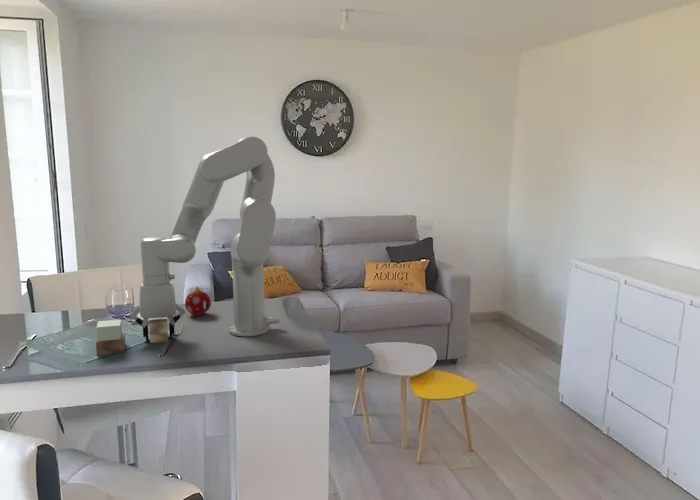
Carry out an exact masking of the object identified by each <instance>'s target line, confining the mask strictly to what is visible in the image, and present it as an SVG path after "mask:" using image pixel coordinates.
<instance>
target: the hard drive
mask: <svg viewBox="0 0 700 500" xmlns="http://www.w3.org/2000/svg"><path fill="white" fill-rule="evenodd" d="M137 316H138V317H139V318H141V319H142V320H143V318H142V317H141V316H140V312H139V313H138V314H137ZM159 318H163V317H159ZM150 319H152V318H149V319H148V322H147V325H149V320H150ZM131 325H139V324H138V323H137V322H136V321H135V320H133V319H132V321H131Z"/></svg>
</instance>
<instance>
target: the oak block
mask: <svg viewBox="0 0 700 500" xmlns="http://www.w3.org/2000/svg"><path fill="white" fill-rule="evenodd" d="M168 326H169V324H168V317H162V318H152V319H150V320H149V324H148V327H149V342H150V343H151V344H155V343H163V342H164V343H165V342H169V330H168V329H169V327H168Z"/></svg>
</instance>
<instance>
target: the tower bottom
mask: <svg viewBox="0 0 700 500" xmlns="http://www.w3.org/2000/svg"><path fill="white" fill-rule="evenodd" d="M125 333H126V332H125V331H122V335H121V339H118V340H107V341H97V339H96V340H95V346H96V347H95V348H96V349H95V350H96V356H100V355H101V356H102V355H109V354H110V355H112V354H120V353H121V354H122V353H125V348H126V334H125Z"/></svg>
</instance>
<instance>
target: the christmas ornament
mask: <svg viewBox="0 0 700 500" xmlns="http://www.w3.org/2000/svg"><path fill="white" fill-rule="evenodd" d="M211 304H212V301H211V297H210V295H208V294H207V293H206V291H203V290H200V287H199V286H196V287H195V290H194V291H191V292H190V293H189V294H188V295H187V296H186V298H185V299H184V306H185V308H186V311H188V314H191V315H192V316H193V315H194V316H202V315H205V313H207V312H208V311H209V310H210V309H211Z"/></svg>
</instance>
